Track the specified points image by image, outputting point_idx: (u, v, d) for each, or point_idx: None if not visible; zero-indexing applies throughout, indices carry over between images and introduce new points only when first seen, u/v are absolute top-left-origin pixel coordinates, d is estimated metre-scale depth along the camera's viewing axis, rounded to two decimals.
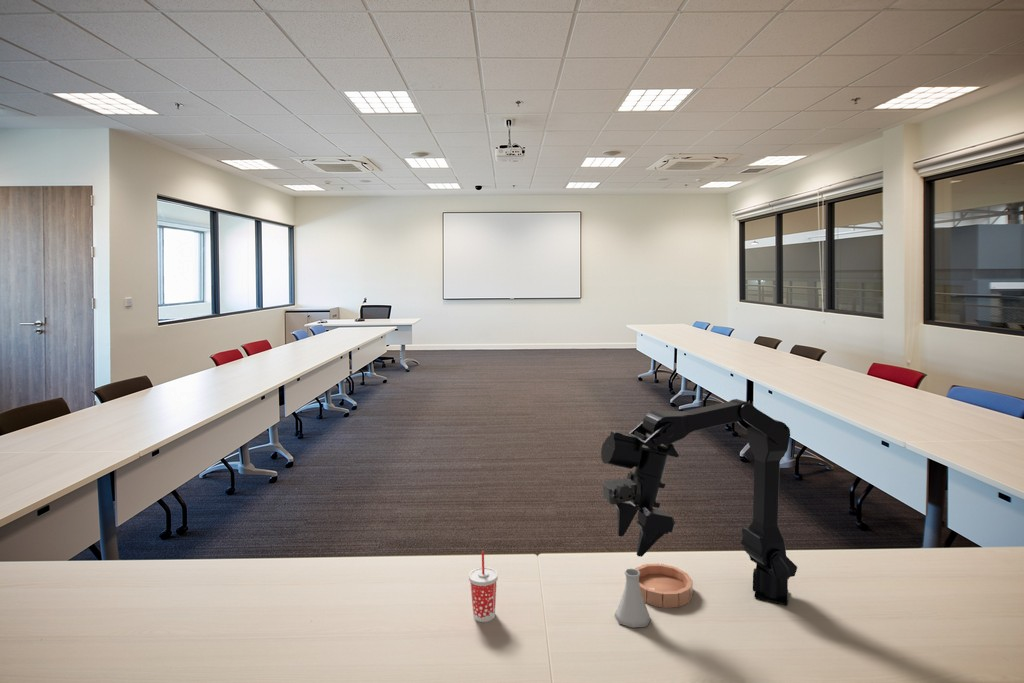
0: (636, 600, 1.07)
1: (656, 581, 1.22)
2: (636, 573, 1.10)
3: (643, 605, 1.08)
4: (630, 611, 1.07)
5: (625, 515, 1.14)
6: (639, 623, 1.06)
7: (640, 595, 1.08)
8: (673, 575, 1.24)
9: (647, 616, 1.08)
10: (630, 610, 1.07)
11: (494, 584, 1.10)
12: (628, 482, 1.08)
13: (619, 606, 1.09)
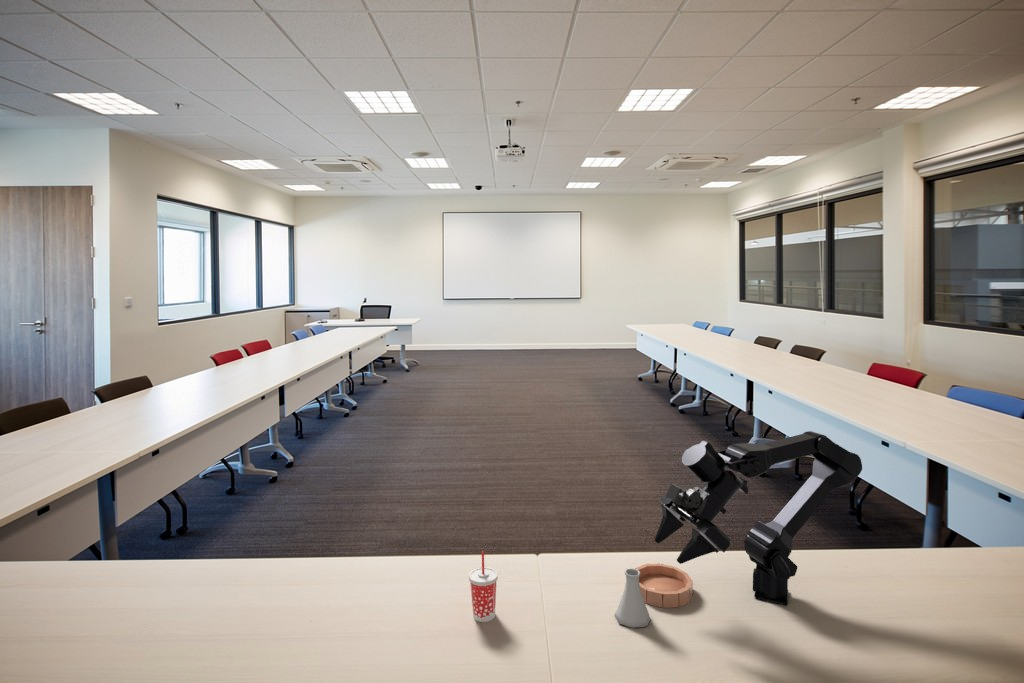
0: (636, 600, 1.07)
1: (656, 581, 1.22)
2: (636, 573, 1.10)
3: (643, 605, 1.08)
4: (630, 611, 1.07)
5: (669, 525, 1.15)
6: (639, 623, 1.06)
7: (640, 595, 1.08)
8: (673, 575, 1.24)
9: (647, 616, 1.08)
10: (630, 610, 1.07)
11: (494, 584, 1.10)
12: None
13: (619, 606, 1.09)
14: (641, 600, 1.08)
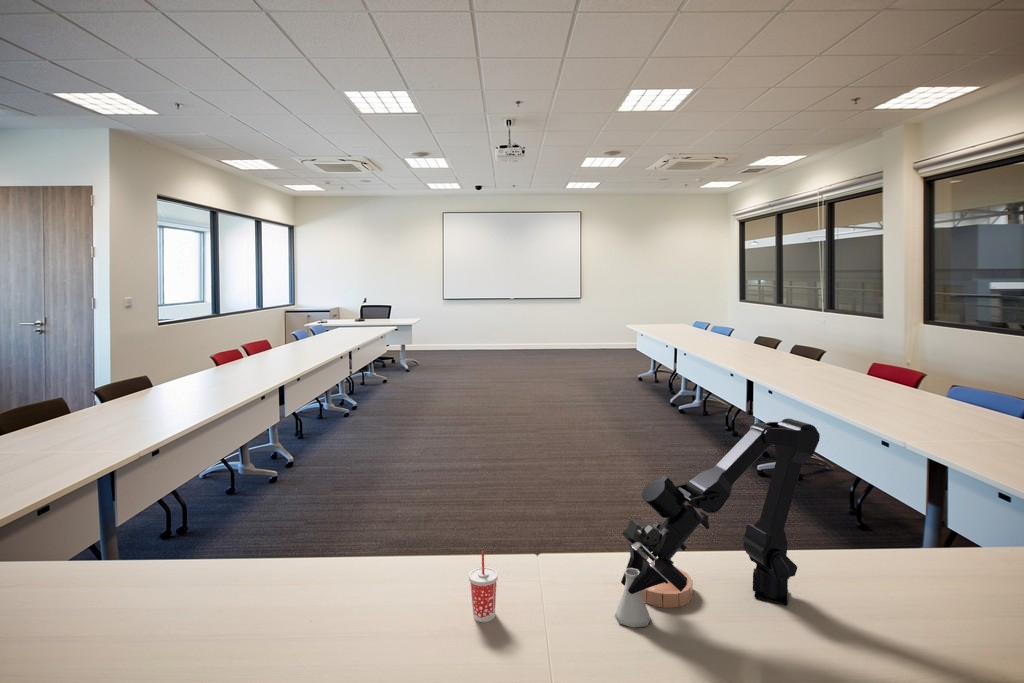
0: (636, 600, 1.07)
1: None
2: (636, 573, 1.10)
3: (643, 605, 1.08)
4: (630, 611, 1.07)
5: (636, 567, 1.11)
6: (639, 623, 1.06)
7: (640, 595, 1.08)
8: None
9: (647, 616, 1.08)
10: (630, 610, 1.07)
11: (494, 584, 1.10)
12: None
13: (619, 606, 1.09)
14: (641, 600, 1.08)
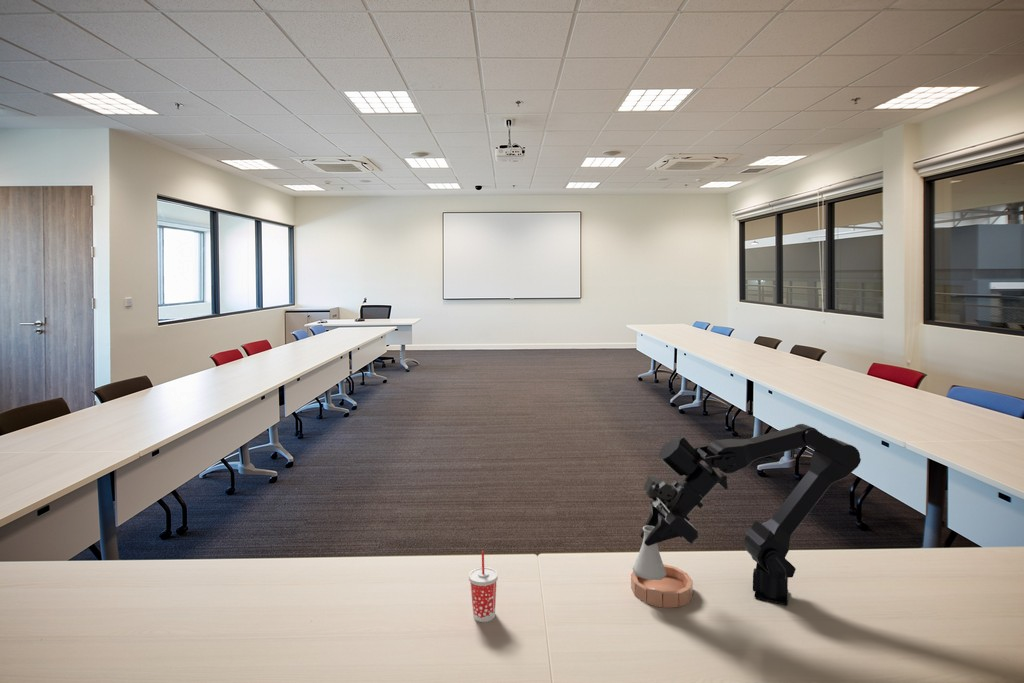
0: (652, 555, 1.13)
1: (656, 581, 1.22)
2: None
3: (659, 560, 1.14)
4: (645, 564, 1.13)
5: (655, 522, 1.17)
6: (654, 576, 1.12)
7: (656, 551, 1.14)
8: (673, 575, 1.24)
9: (662, 571, 1.14)
10: (646, 563, 1.13)
11: (494, 584, 1.10)
12: (671, 487, 1.14)
13: (637, 560, 1.16)
14: (657, 555, 1.14)
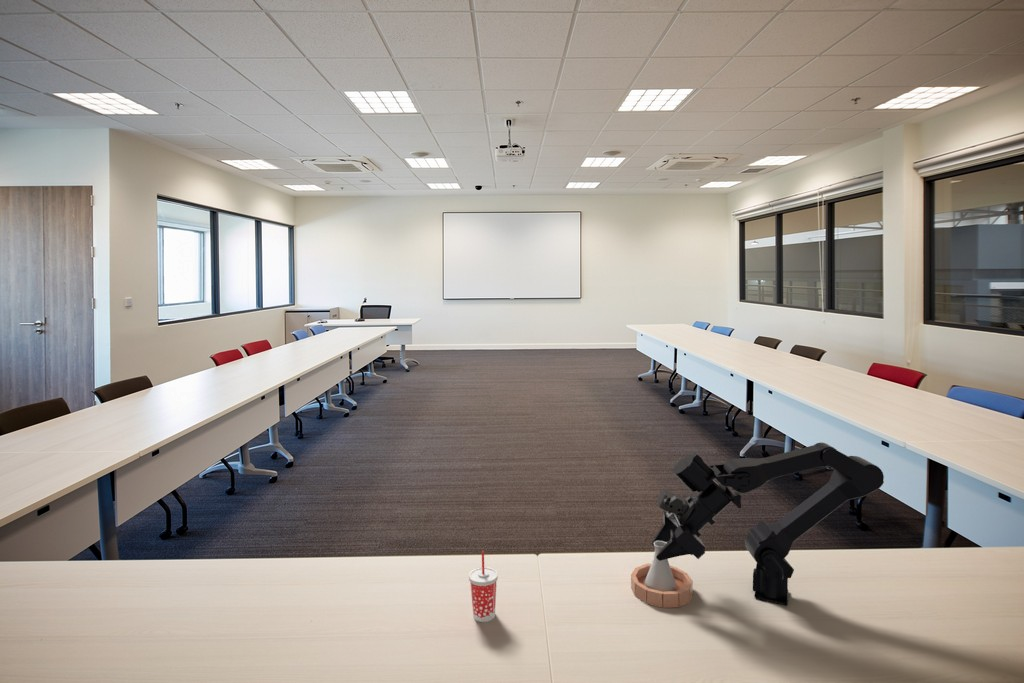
0: (662, 570, 1.17)
1: None
2: None
3: (669, 575, 1.18)
4: (655, 578, 1.18)
5: (667, 532, 1.22)
6: (663, 590, 1.16)
7: (667, 565, 1.18)
8: (673, 575, 1.24)
9: (672, 586, 1.17)
10: (656, 578, 1.17)
11: (494, 584, 1.10)
12: (684, 501, 1.17)
13: (648, 573, 1.20)
14: (667, 570, 1.18)
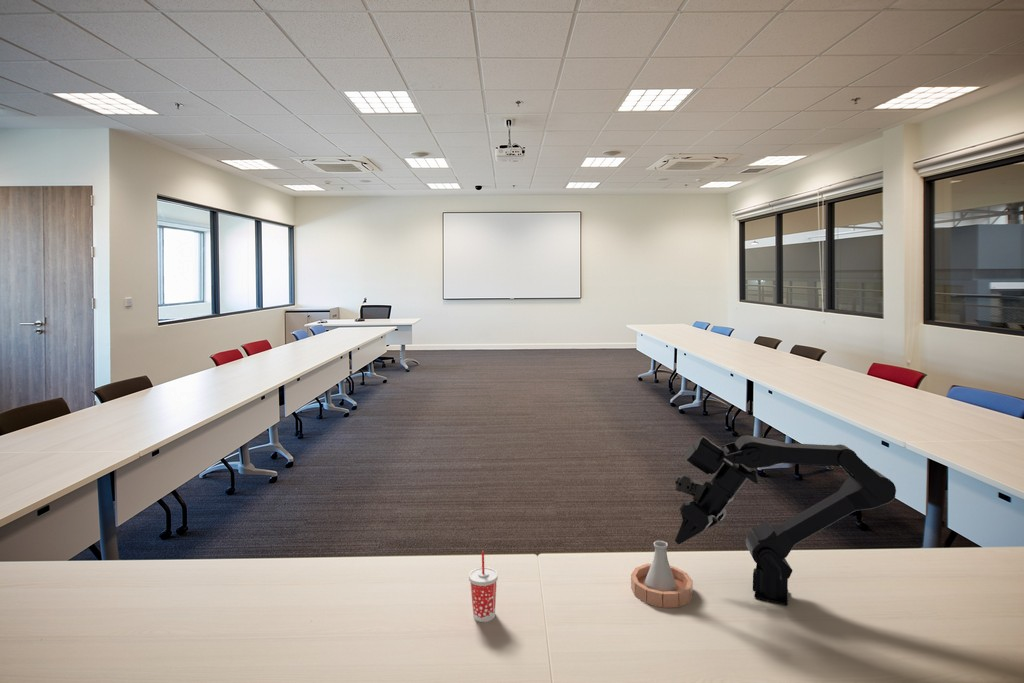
0: (662, 570, 1.17)
1: None
2: (665, 545, 1.19)
3: (669, 575, 1.18)
4: (655, 578, 1.18)
5: None
6: (663, 590, 1.16)
7: (667, 565, 1.18)
8: (673, 575, 1.24)
9: (672, 586, 1.17)
10: (656, 577, 1.17)
11: (494, 584, 1.10)
12: (700, 483, 1.20)
13: (648, 573, 1.20)
14: (667, 570, 1.18)
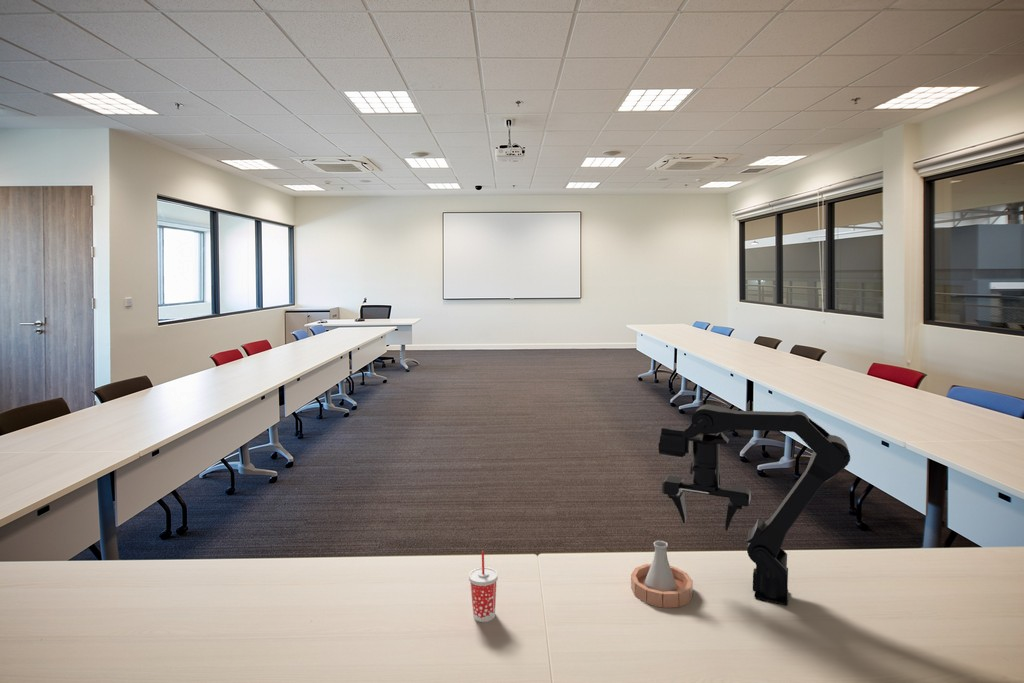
0: (662, 570, 1.17)
1: None
2: (665, 545, 1.19)
3: (669, 575, 1.18)
4: (655, 578, 1.18)
5: None
6: (663, 590, 1.16)
7: (667, 565, 1.18)
8: (673, 575, 1.24)
9: (672, 586, 1.17)
10: (656, 577, 1.17)
11: (494, 584, 1.10)
12: None
13: (648, 573, 1.20)
14: (667, 570, 1.18)
